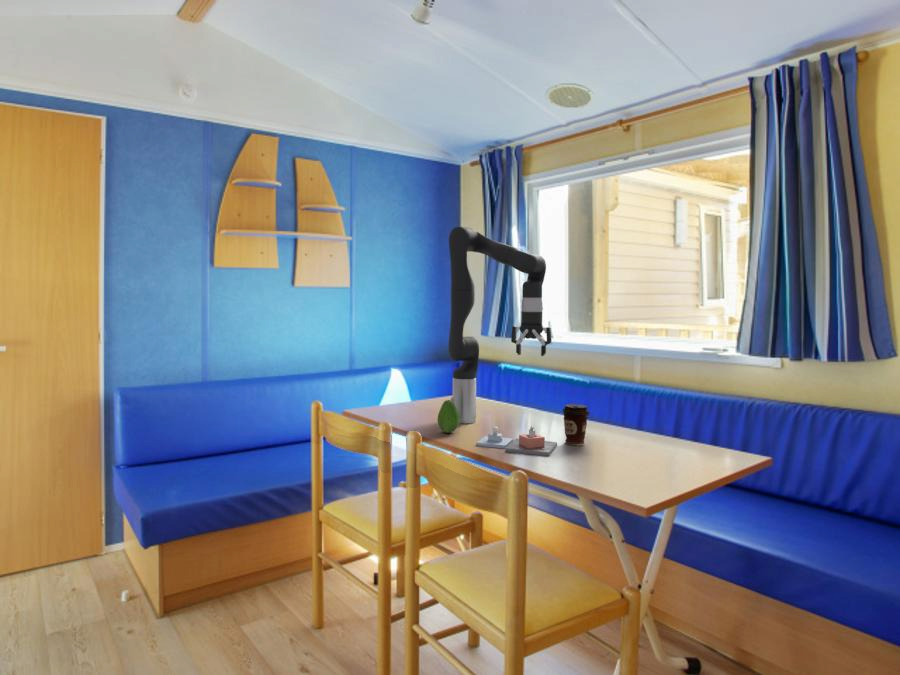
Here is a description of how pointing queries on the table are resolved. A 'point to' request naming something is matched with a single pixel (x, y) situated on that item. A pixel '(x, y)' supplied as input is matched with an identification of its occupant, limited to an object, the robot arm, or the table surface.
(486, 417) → the table surface
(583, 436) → the coffee cup
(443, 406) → the avocado
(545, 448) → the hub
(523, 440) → the salmon square frame
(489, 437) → the stand
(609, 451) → the table surface
